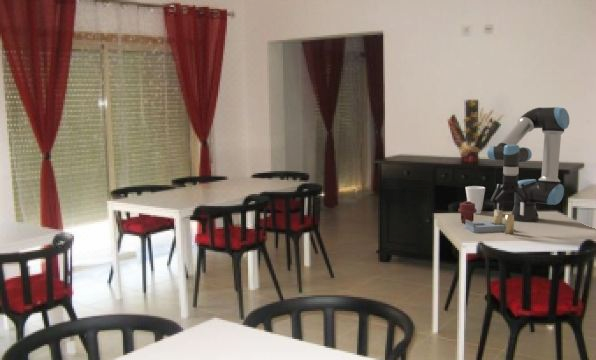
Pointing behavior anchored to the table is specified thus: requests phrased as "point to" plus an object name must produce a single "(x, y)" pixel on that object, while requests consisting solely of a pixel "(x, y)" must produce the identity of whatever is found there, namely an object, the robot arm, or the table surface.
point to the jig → (487, 225)
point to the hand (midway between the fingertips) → (509, 215)
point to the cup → (476, 196)
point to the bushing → (509, 224)
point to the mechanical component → (467, 211)
